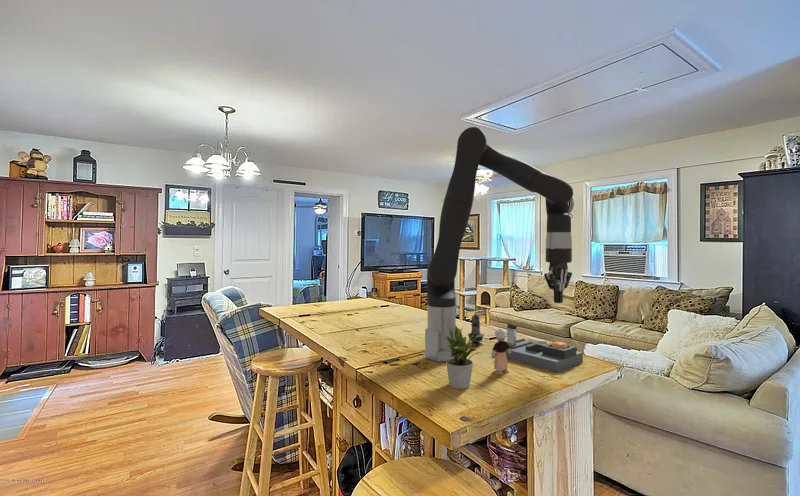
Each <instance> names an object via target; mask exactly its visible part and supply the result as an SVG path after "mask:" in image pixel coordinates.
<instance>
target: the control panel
mask: <svg viewBox="0 0 800 496" xmlns="http://www.w3.org/2000/svg"><path fill="white" fill-rule="evenodd" d="M509 347H510V351H511V354H509V353H508V351H507V349H506V357H507V360H511V361H514V362H518V363H521V364H526V365H529V366H532V367H536V368H539V369H543V370H547V371H551V372H554V373H558V372H561V371H563V370H566V369H568V368H570V367H573V366H576V365H578V364H581V363H583V362H584V358H583V357H584V355H583V354H584V352H582V351H579V350H577V346H574V345H570V344H569V345H568V344H567V348H566V349H558V348H554V347H552V342H550V343H548V344H547V345H545V344H537V343H532V342H528V339H526V338H519V339H516V346H509ZM495 356H496V353H495Z"/></svg>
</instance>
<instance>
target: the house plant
mask: <svg viewBox="0 0 800 496" xmlns="http://www.w3.org/2000/svg"><path fill="white" fill-rule="evenodd" d="M464 325H465V324H463V326H462V328H459V327H458V326H457V325H455V339H454V336H453V333H452V330H451V328H450V327H449V326H447V325H446V326H447V328H448V330H449V333H450V336H451V338H452V339H451V338H450V337H447V336H445V337H446V338H447V340H448V341H449V343H450V344H449V343H448V344H447V346H448V347H450V349H451V351H452V353H451V352H450V351H449V352H450V353H451V354H450V355H451V359H448V360H446V361H445V363H446V370H447V375H448V376H447V377H448V383H449V387H451V388H453V389H456V390H457V389H458V390H465V389H469V388H470V385H471V378H472V372H473V367H474V362H473V360H471V358H472V357H474V355H477V354H479V352H476V353H474V354H472V355H470V354H471V353H472V352H475V351H478V349H476V348H470V346H471V345H472V344H469V343H470V342H472V341H471V339H472V337H473V336H474V334H475V333H474V334H473V335H472V337H471V338H470V339H469V340H468V342H467V343H466V341H467V336H463V333H462V331H463V327H464ZM432 330H434V329H432ZM437 331H438V330H437ZM475 332H476V331H475ZM441 333H442V332H441ZM438 334H439V333H438ZM482 334H483V335H485V334H486V333H481V335H482ZM442 336H443V335H442ZM479 336H480V335H479ZM443 337H444V336H443ZM445 337H444V338H445ZM476 338H477V337H476ZM476 338H475V339H476ZM475 339H474V340H475ZM447 340H446V341H447ZM474 340H473V341H474ZM473 344H474V343H473ZM433 346H435V345H433ZM438 347H439V346H438ZM471 347H472V346H471ZM444 350H446V349H442V348H441V349H439V350H438V351H437V353H438V352H440V351H444ZM447 351H448V350H447ZM444 352H445V351H444ZM445 353H446V352H445ZM481 354H482V355H483V353H482V352H480V355H481ZM469 355H470V356H469ZM468 356H469V358H468ZM452 357H454V358H452Z"/></svg>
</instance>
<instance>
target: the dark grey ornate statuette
mask: <svg viewBox="0 0 800 496" xmlns="http://www.w3.org/2000/svg"><path fill="white" fill-rule="evenodd" d="M480 320H481V319H480V316H479V315H478V314H477V312H475V313H474V314H473V315H472V316H471V324H470V325H471V332H470V333H468V334H467V336H468V339H469V340H470V338H471V337H472V335H473V334H474V333H475V334H474V336H473V337H472V339H471V341H470V342H469V344H472V345H471V347H482V346H483V345H484V344H483V343H482V341H483V339H484V336H485V334H484V333H481V328H480V327H481V323H480V322H481V321H480ZM475 331H476V332H475ZM481 334H482V335H481ZM479 335H480V336H479ZM476 337H477V338H476ZM475 338H476V339H475ZM474 339H475V340H474ZM473 340H474V341H473ZM473 343H474V344H473Z"/></svg>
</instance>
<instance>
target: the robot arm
mask: <svg viewBox="0 0 800 496" xmlns="http://www.w3.org/2000/svg"><path fill="white" fill-rule="evenodd" d="M479 166H480V167H484V168H485V169H488V170H490V171H493V172H494V173H496V174H498V175H501V176H502V177H505V178H506V179H508V180H509V181H512V182H513V183H515V184H517V185H518V186H520V187H522V189H525V190H527V191H528V192H530V193H536V194H539V195H540V196H542V197H543V198H545V210H546V235H545V236H546V237H545V262H546V263H549V266H548V272H547V273H545V272H544V275H543V276H544V279H545V281H546V284H547V286H548V289H549V290H552V291H553V303H555V304H562V303H564V291H565V289H567V288H568V287H569V284H570V281H571V278H572V276H573V273H572V272H571V271H568V270H569V266H568V264H571V263H572V260H573V253H572V252H573V249H572V248H573V239H572V218H571V215H570V213H569V203H570V201H571V200H572V199H573V196H574V190H573V187H572V186H571V185H570V184H569V183H568V182H566V181H565V180H562V179H561V178H558V177H556V176H553V175H551V174H548V173H545V172H543V171H542V170H541V169H538V168H537V167H535V166H534V165H531V164H529V163H528V162H526V161H523V160H521V159H518V158H514V157H512V156H509V155H505V154H503V153H502V152H499V151H498V150H496V149H495V148H493V147H492V146H491V145H489V144H488V141H487V136H486V134H485V133H484V132H483V130H482V129H481V128H479V127H476V126H470V127H468V128H465V129H464V130H463V131H462V132H461V133H460V135H459V137H458V139H457V146H456V155H455V161H454V166H453V171H452V173H451V177H450V179H449V182H448V185H447V189H446V192H445V196H444V200H443V204H442V207H441V211H440V217H439V219H440V220H439V230H438V239H437V243H436V247H435V250H434V253H433V256H432V259H431V260H430V261H429V263H428V264H427V268H426V299H427V300H426V302H427V314H426V315H427V319H426V321H427V323H426V324H427V327H426V328H425V329H424V358H425V359H428V360H431V361H433V362H436V363H439V362H446V360H448V359H451V355H450V354H451V353H452V351H451V349H450V347H448V346H447V344H448V343H449V341H448V340H447V338H446V337H445V336H447V337H450V338H451V336H450V333H449V330H448V328H447V326H449V327H450V328H451V330H452V333H453V336H454V339H455V325H456V319H457V317H456V315H457V313H456V308H457V307H456V305H457V301H456V300H457V298H456V290H455V287H456V285H455V283H456V282H455V281H456V280H455V279H456V277H457V272H458V266H459V265H458V263H459V256H460V249H461V246H462V241H463V239H464V236H465V233H466V230H467V228H468V227H467V226H468V225H469V221H470V220H469V219H470V216H471V213H472V207H473V203H474V198H475V191H476V189H475V188H476V180H477V171H478V168H479ZM446 325H447V326H446ZM456 326H457V325H456ZM432 329H434V330H432ZM437 330H438V331H437ZM441 332H442V333H441ZM438 333H439V334H438ZM442 335H443V336H444V337H445V338H444V337H443V336H442ZM451 339H452V338H451ZM446 340H447V341H446ZM449 344H450V343H449ZM433 345H435V346H433ZM438 346H439V347H438ZM441 348H442V349H446V350H444V351H445V352H446V353H445V352H444V351H440V352H438V353H437V351H438V350H439V349H441ZM447 350H448V351H447ZM449 351H450V352H451V353H450V352H449ZM452 358H454V357H452Z"/></svg>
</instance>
